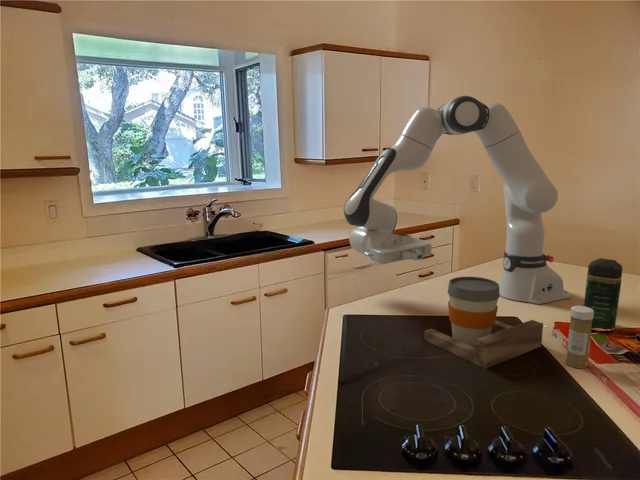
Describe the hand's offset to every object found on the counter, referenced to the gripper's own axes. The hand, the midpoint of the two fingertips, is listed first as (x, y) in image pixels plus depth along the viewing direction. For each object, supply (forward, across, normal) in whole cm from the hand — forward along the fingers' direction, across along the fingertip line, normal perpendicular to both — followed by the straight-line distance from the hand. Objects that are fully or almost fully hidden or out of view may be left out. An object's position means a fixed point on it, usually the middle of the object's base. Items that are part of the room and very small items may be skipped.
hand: (419, 256), depth 134 cm
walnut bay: (+23, 0, +18) cm, 29 cm away
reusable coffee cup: (+19, 0, +18) cm, 26 cm away
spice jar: (+42, +8, +18) cm, 47 cm away
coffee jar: (+34, +34, +18) cm, 51 cm away
